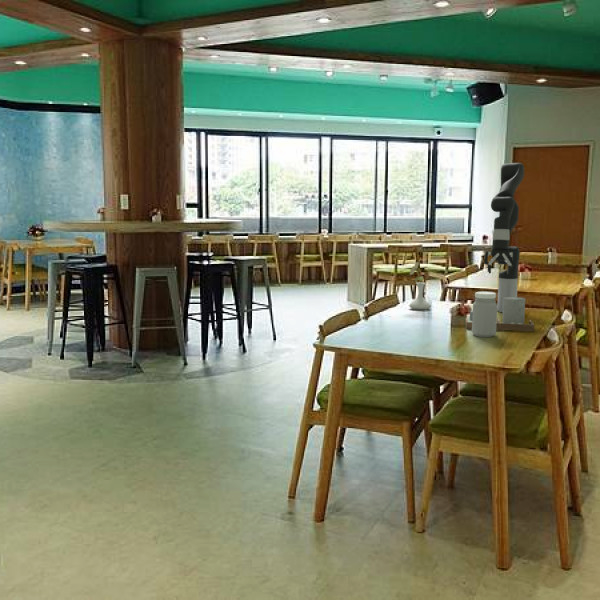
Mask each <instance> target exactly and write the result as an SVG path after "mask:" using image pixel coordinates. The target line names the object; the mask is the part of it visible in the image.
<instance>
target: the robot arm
mask: <svg viewBox="0 0 600 600" xmlns="http://www.w3.org/2000/svg"><path fill="white" fill-rule="evenodd" d="M524 176H525V166H524V164H523V163H521V162H510V163H509V162H508V163H503V164H502V165H501V167H500V188H499V191H498V193H496V194H495V195H494V197H493V198H492V200H491V202H490V209H491V210H492V211H493V212H495V213H498V216H497V217H495V218H494V220H493V233H492V245H491V251H487V250H486V251H484V258H483V264H484V265H487V273H488V274H491V273H492V264H493V263H494V262H495V261H496V263H497V264H498V265H506V266H507V265H508V266H507V269H505V270H503V271H502V270H501V271H500V272H498V285H497V286H498V287H497V288H498V289H497V312H498V311H499V313H503V298H504V297H518V278H519V262H520V248H519V247H518V246H515V245H514V246H511V245H510V237H511V236H510V233H511V232H512V231H513V229H514V228H515V226H516V225H517V223H518V221H519V211H520V209H519V205H518V203H517V201H516V200H515V198H514V196H515V193H516V191H517V189H518V187H519V186H520V184H521V183H522V181H523V180H524ZM490 255H491V256H492V258H491V259H490V260H489V259H488V257H489V256H490ZM488 260H489V261H488Z"/></svg>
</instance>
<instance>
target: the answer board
mask: <svg viewBox="0 0 600 600" xmlns="http://www.w3.org/2000/svg"><path fill="white" fill-rule="evenodd" d="M465 323H466V324H465V329H466V330H472V321H469V319H468V317H465ZM504 330H520V331H519V332H529V331H534V332H535V323H534V321H532V320H531V319H528V323H524V324H523V323H518V324H516V323H511V324H507V323H502V322H501V320H500V318H497V324H496V331H504Z"/></svg>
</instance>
